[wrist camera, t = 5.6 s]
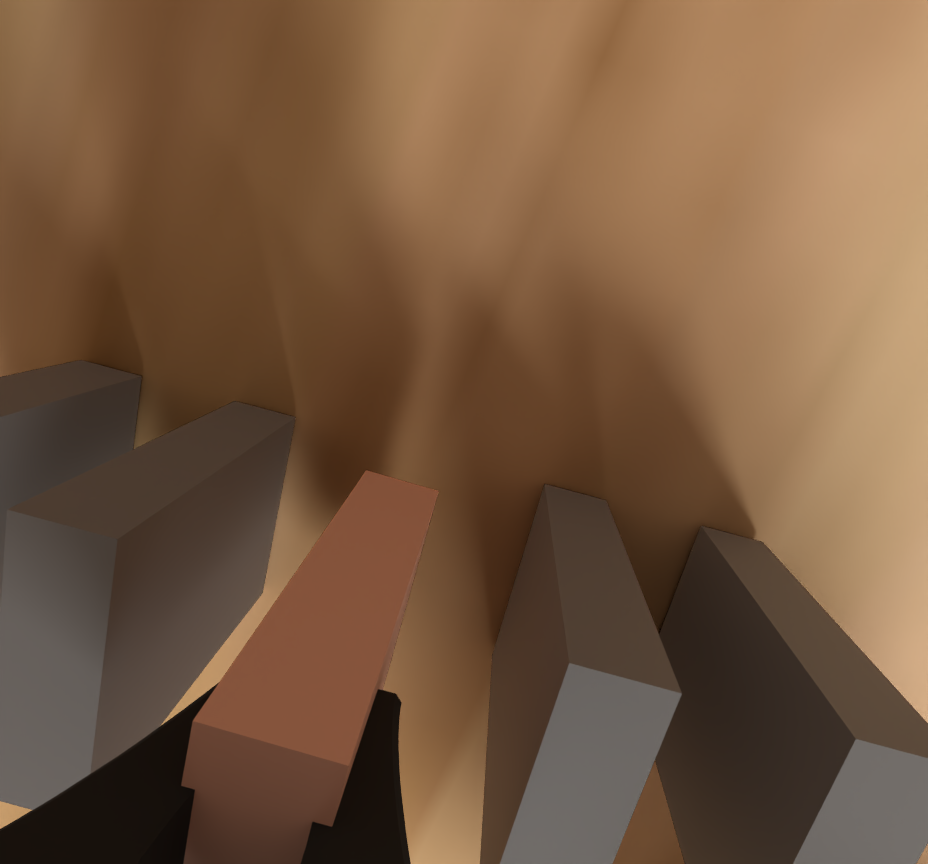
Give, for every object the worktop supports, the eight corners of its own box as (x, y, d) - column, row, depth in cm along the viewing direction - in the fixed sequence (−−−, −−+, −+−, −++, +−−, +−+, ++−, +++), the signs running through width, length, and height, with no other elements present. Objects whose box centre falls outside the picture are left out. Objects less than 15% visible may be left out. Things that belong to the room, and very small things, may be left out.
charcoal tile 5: (763, 542, 15) (969, 769, 8) (693, 709, 16) (822, 1027, 9) (701, 525, 15) (855, 738, 8) (636, 694, 16) (724, 1000, 9)
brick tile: (438, 491, 13) (349, 765, 6) (383, 686, 14) (259, 1091, 7) (366, 470, 13) (193, 721, 6) (318, 667, 14) (132, 1054, 7)
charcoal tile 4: (606, 500, 15) (682, 693, 8) (548, 670, 16) (573, 959, 9) (544, 484, 15) (569, 662, 8) (492, 654, 16) (476, 932, 9)
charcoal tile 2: (295, 417, 15) (117, 539, 8) (262, 593, 16) (83, 824, 9) (234, 400, 15) (6, 509, 8) (206, 577, 16) (-12, 797, 9)
